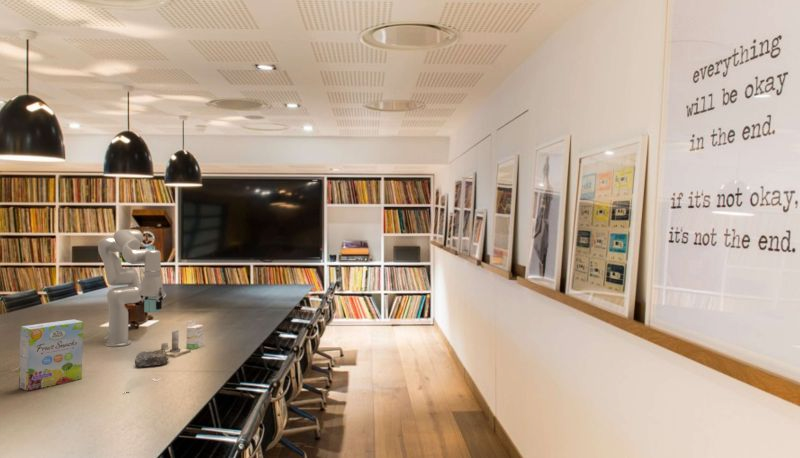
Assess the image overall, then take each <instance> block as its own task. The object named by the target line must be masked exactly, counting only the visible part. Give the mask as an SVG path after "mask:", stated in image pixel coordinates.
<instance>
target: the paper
mask: <svg viewBox="0 0 800 458" xmlns="http://www.w3.org/2000/svg"><path fill="white" fill-rule="evenodd" d="M161 378H162V377H159V378H154V377H153V378H152V380H154V381H153V382H159V381H161V380H160V379H161ZM152 380H151V381H152ZM124 392H125V393H124V394H127V393H126V392H127V391H124Z"/></svg>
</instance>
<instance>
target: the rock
mask: <svg viewBox="0 0 800 458" xmlns="http://www.w3.org/2000/svg"><path fill="white" fill-rule="evenodd" d="M152 351H153V352H152ZM152 351H139V352H138V354H136V357H135V360H134V365H135V366H137V367H138V368H146V367H153V366H160V365H163V364H166V363H167V362H168V361H169V359H170V357H168V355H167V354H166V352H165V350H158V349H156V351H155V350H152Z"/></svg>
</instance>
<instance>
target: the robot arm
mask: <svg viewBox="0 0 800 458" xmlns="http://www.w3.org/2000/svg"><path fill="white" fill-rule="evenodd" d="M143 241H144V235H143V232H142V231H140V230H139V229H119V230H116V231H115V232H114V234H113V235H112V236H107V237H103V238H101V239H100V240H98V244H97V250H98V254H99V256H100V258H101V260H102V262H103V266H104V271H105V272H104V273H105V277H106V282H107V284H108V285H109V286H111V287H113V288H111V289H109V290H108V291H107V294H106V300H107V305H108V335H106V336H104V337H103V340H104V341H106V342H105V346H106V347H109V348H110V347H112V348H114V347H124V346H128V345H130V344H132V340H130V339H129V310H128V309H127V307H126V306H125V305H128V304H137V303H139V302H140V301H142V303H143V304H142V307H143V308H142V309H143V310H144V300H145V299H150V298H156V299H157V301H158V302H156V309H157V310H158V309H160V310H162V308H163V306H162V305H163V301H164V299H166V296H167V293H166V292H165V290H164V286H163V278H162V276H161V270H162V268H161V266H162V265H161V264H162V263H161V260H162V259H161V256H162V255H161V251H160V250H157V249H153V248H141V244H142V243H143ZM140 248H141V249H140ZM115 253H121V255H122V257H123V259H124V260H125V261H126V262H127V263H128V264H131V265H141V264H144V270H143V275H144V276H143V277H142V280H141V283H140V277H139V273H138V271H137V270H136V269H135V268H133V267H123V265H122V261H121V259H120V258H119V256H117V254H115ZM114 286H118V287H114Z"/></svg>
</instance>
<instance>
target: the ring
mask: <svg viewBox="0 0 800 458" xmlns="http://www.w3.org/2000/svg"><path fill="white" fill-rule="evenodd" d="M156 302H158V301H157V299H156V297H153V298H148V299H145V300H144V309H143V310H144V311H143V312H144V313H147V314H148V313H159V312H161V309H158V310H157V309H156Z"/></svg>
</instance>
